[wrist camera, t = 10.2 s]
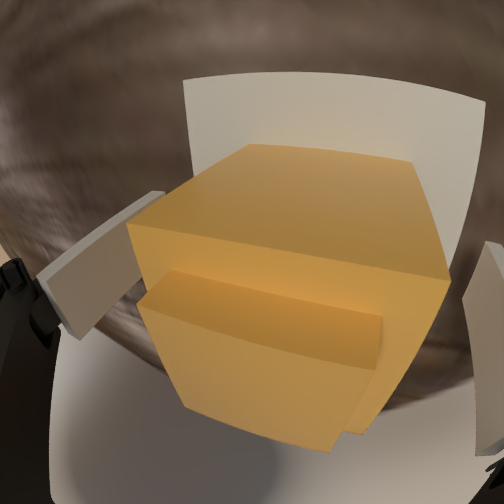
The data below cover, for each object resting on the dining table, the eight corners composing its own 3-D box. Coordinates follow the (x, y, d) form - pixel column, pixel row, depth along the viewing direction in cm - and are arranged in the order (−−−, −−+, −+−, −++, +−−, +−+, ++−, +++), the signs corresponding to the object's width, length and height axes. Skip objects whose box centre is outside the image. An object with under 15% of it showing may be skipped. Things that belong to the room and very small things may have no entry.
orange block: (256, 270, 15) (167, 407, 9) (249, 143, 11) (87, 252, 5) (382, 295, 13) (353, 467, 6) (411, 162, 9) (461, 337, 3)
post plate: (220, 286, 18) (167, 358, 14) (195, 79, 11) (91, 97, 7) (417, 327, 14) (412, 423, 9) (477, 99, 7) (556, 126, 3)
